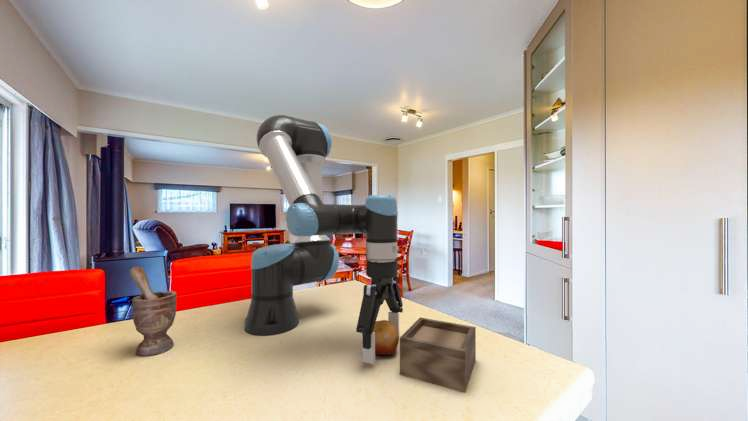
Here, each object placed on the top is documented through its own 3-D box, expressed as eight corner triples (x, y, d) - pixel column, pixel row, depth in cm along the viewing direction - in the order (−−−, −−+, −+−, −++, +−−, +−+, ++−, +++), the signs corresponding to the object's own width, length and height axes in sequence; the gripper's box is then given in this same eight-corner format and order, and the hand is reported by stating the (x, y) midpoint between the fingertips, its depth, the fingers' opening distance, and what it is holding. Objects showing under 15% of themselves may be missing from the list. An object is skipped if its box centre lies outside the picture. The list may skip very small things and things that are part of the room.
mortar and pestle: (108, 359, 66) (108, 270, 66) (136, 342, 74) (137, 264, 74) (161, 357, 66) (162, 270, 67) (183, 340, 75) (184, 263, 75)
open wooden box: (399, 374, 59) (399, 337, 59) (420, 348, 71) (419, 317, 71) (465, 392, 53) (465, 351, 53) (475, 360, 65) (475, 326, 65)
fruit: (399, 335, 74) (398, 315, 70) (398, 365, 68) (398, 344, 64) (368, 334, 75) (366, 313, 71) (364, 363, 68) (362, 342, 64)
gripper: (371, 269, 56) (371, 379, 56) (414, 254, 79) (414, 332, 78) (339, 266, 60) (339, 370, 59) (389, 252, 82) (389, 327, 82)
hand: (382, 349), depth 69 cm, fingers open, 13 cm apart
